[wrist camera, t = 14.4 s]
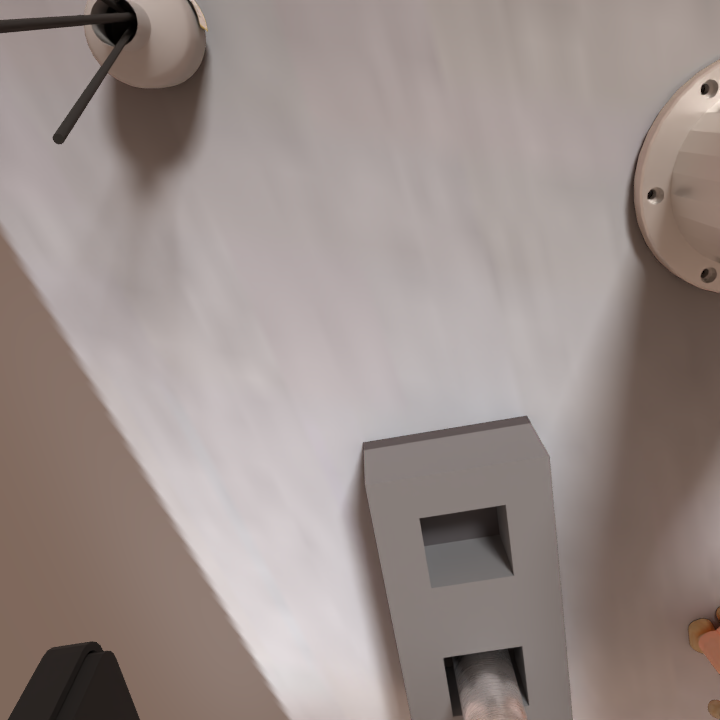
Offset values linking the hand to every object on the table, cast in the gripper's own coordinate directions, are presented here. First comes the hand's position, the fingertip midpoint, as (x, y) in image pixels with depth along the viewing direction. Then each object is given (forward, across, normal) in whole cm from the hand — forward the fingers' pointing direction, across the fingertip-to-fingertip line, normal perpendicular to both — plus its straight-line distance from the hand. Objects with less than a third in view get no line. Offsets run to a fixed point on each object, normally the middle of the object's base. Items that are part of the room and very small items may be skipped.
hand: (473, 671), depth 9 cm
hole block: (+30, -2, +22) cm, 37 cm away
